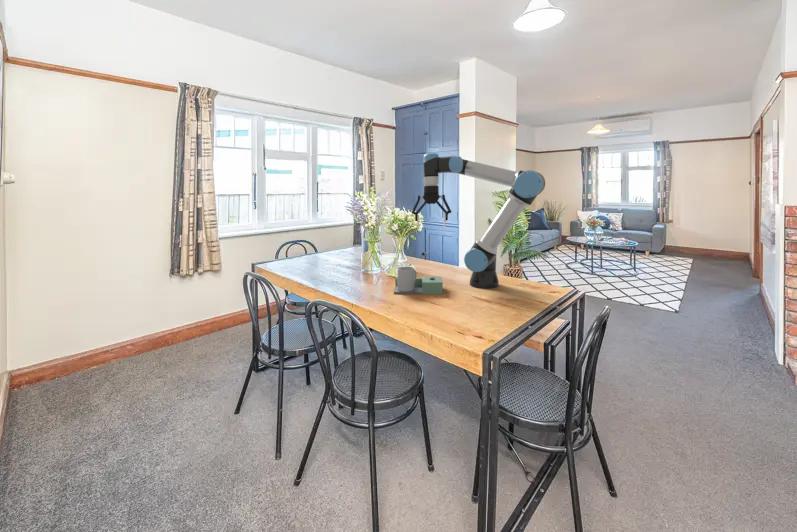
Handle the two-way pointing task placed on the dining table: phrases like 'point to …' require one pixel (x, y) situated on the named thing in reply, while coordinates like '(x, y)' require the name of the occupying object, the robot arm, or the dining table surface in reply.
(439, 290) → the green stepped block
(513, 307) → the dining table surface
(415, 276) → the mug
